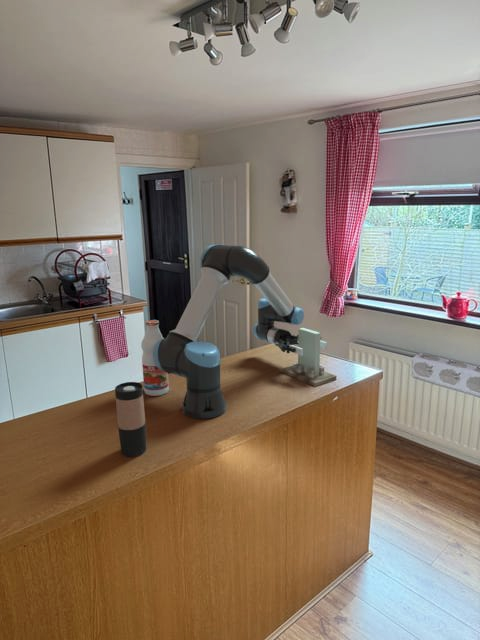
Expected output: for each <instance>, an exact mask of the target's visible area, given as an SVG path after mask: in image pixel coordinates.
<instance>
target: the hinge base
mask: <svg viewBox="0 0 480 640" xmlns="http://www.w3.org/2000/svg"><path fill="white" fill-rule="evenodd" d="M292 364H293V365H289V366H287V367H283V368H281V373H283V374H285V375H288V376H289V377H292V378H294V379H296V380H299V381H301V382H304V383H306V384H308V385H311V386H314V387H319V386H322V385H324V384H327V383H330V382H333V381H335V380H337V375H335V374H332V373H330V372H327V371H325V367H324V366H321V365H320V367H319V375H318V376H315V370H313V369H310V368H305V372H303V371H302V367H303V366H302V365H300V364H298V362H293V363H292Z"/></svg>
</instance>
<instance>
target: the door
mask: <svg viewBox="0 0 480 640" xmlns="http://www.w3.org/2000/svg"><path fill="white" fill-rule="evenodd" d="M298 334H299V335H298ZM298 334H297V335H298V340H297V343H298V344H297V347H299V348H302V349H303V355H302V356H301V355H298V354H297V355H298V356H297V364H300V365H302V366H303V367H302V371H303V372H305V368H310V369H313V370H315V376H318V375H319V367H320V366H321V365H320V363H321V362H320V361H321V347H320V340H322V336H321V335H322V334H321V332H318V331H315V330H312V329H309V328H305V327H301V328H298Z"/></svg>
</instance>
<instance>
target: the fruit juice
mask: <svg viewBox="0 0 480 640" xmlns="http://www.w3.org/2000/svg"><path fill="white" fill-rule="evenodd" d="M159 325H160V321H159V320H157V319H150V320H146V321H145V327H146V330H145V331H144V336H143V339H142V340H141V343H140V344H141V345H140V347H141V349H142V355H141V366H142V376H143V377H142V378H143V379H142V380H143V390H144V394H145V395H147V396H151V397H153V396H154V397H157V396H163V395H165V394H167V393H168V392H169V389H170V383H169V373H166V372H165V371H163V370H160V369H159V368H158V367H157V366H156V365H155V363H154V359H153V350H154V347H155V345H156V343H157V342H158V341H159V340H161V339H164V338H165V337H163V334H162V333H161V330H160V328H159V327H160V326H159Z"/></svg>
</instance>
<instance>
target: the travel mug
mask: <svg viewBox="0 0 480 640" xmlns="http://www.w3.org/2000/svg"><path fill="white" fill-rule="evenodd" d="M143 390H144V388H143V384H142V383H140V382H137V381H127V382H123V383H120V384H117V385H116V386H115V388H114V392H115V393H114V394H115V395H114V396H115V407H116V419H117V427H118V428H117V429H118V430H117V431H118V437H119V445H120V452H121V454H122V456H124V457H126V458H135V457H140V456H141V455H143V454H145V452H146V451H147V434H146V433H147V431H146V430H147V429H146V416H145V415H146V414H145V403H144V392H143Z"/></svg>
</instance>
